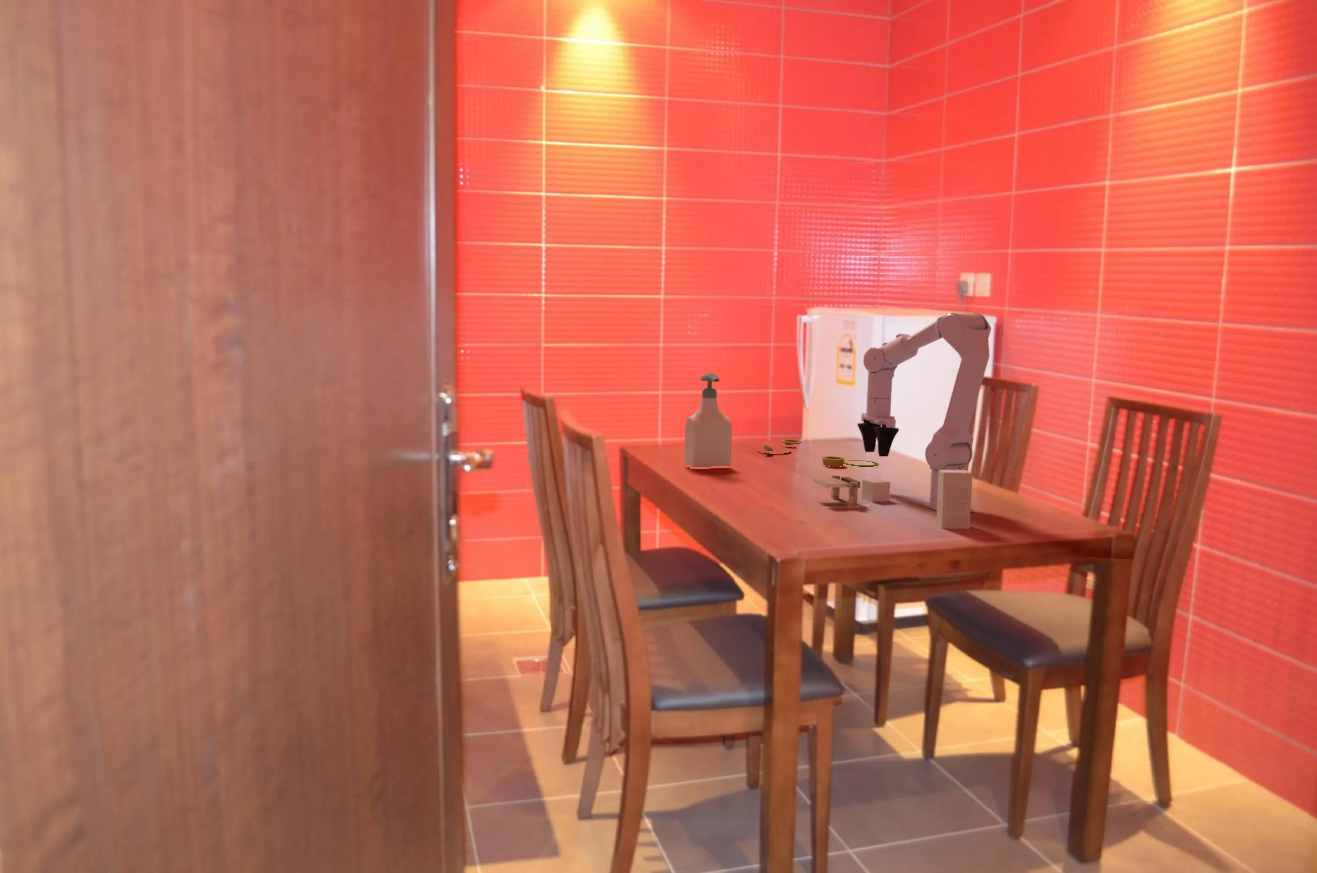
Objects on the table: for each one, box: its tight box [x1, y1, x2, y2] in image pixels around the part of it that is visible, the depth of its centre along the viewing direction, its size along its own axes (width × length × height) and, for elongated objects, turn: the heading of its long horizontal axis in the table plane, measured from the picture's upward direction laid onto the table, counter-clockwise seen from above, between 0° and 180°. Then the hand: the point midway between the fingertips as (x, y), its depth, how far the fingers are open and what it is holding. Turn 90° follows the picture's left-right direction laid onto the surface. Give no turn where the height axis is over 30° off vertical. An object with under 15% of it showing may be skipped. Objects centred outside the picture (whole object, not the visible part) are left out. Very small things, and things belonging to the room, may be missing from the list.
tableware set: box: [762, 438, 880, 467], centre depth 306 cm, size 41×28×6 cm
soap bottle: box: [683, 372, 733, 467], centre depth 283 cm, size 11×8×27 cm
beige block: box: [861, 478, 891, 503], centre depth 246 cm, size 5×5×6 cm
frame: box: [824, 474, 873, 510], centre depth 242 cm, size 11×11×6 cm
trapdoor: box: [812, 476, 861, 489], centre depth 241 cm, size 8×8×1 cm
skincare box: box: [936, 469, 973, 530], centre depth 220 cm, size 6×4×12 cm
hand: (876, 454), depth 255 cm, fingers open, 7 cm apart
